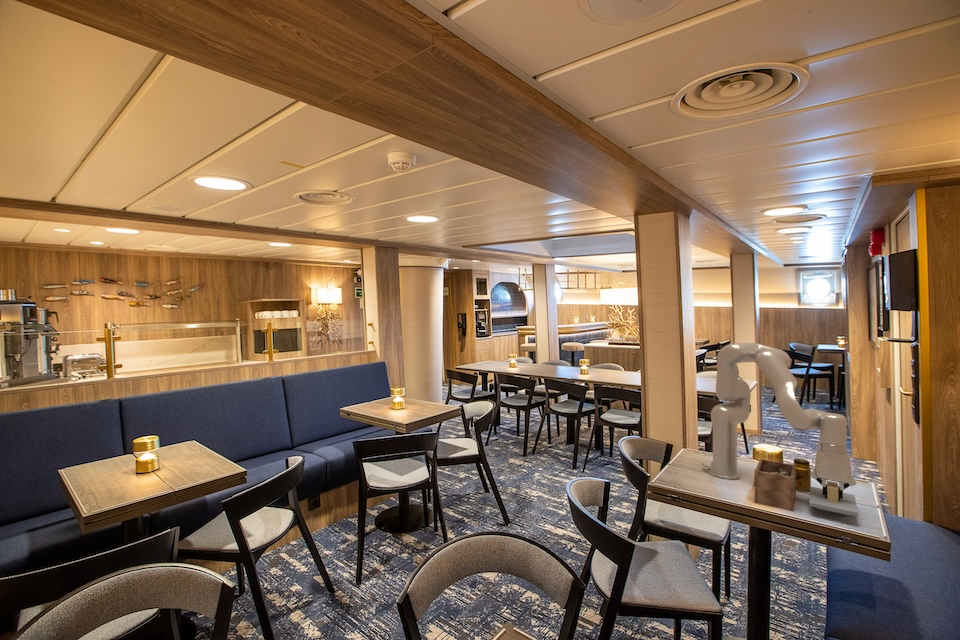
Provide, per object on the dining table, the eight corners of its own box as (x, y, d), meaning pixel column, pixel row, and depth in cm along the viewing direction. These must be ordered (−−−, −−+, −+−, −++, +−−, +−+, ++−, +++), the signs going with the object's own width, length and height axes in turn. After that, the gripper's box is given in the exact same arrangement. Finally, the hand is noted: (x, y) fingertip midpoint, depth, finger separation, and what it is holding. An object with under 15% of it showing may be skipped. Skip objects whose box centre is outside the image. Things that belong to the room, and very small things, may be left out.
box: (754, 502, 164) (754, 470, 164) (759, 487, 178) (760, 458, 178) (793, 511, 156) (793, 478, 156) (795, 495, 170) (796, 465, 170)
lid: (809, 508, 153) (809, 488, 153) (810, 491, 168) (810, 473, 168) (858, 519, 145) (858, 498, 145) (854, 500, 160) (854, 481, 160)
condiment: (788, 488, 178) (788, 459, 178) (796, 484, 182) (797, 455, 182) (809, 494, 172) (809, 464, 171) (817, 490, 176) (818, 460, 176)
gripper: (804, 446, 158) (804, 496, 158) (863, 455, 148) (863, 508, 148) (805, 441, 164) (804, 489, 164) (862, 450, 154) (861, 501, 154)
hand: (832, 498), depth 156 cm, fingers closed on lid, 3 cm apart
